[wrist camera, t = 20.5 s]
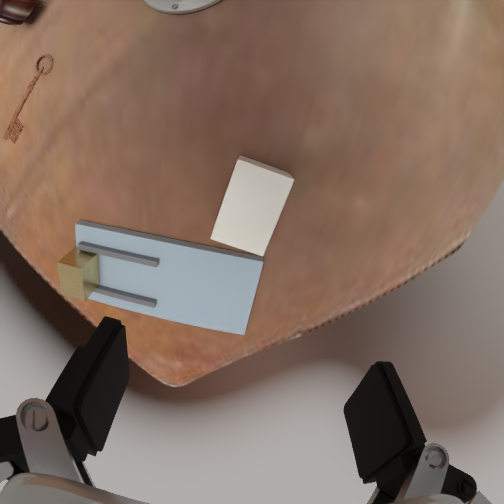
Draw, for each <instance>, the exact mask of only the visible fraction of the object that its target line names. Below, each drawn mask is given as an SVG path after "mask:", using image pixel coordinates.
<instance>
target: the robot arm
mask: <svg viewBox="0 0 504 504" xmlns="http://www.w3.org/2000/svg"><path fill="white" fill-rule="evenodd" d="M144 1H145V2H146V4H147V5H149V6H150V7H151V8H153V9H155V10H157V11H159V12H163V13H168V14H185V13H191V12H196V11H199V10H202V9H205V8H208V7H210V6H212V5H214V4H216V3H218V2H219V1H221V0H144ZM176 8H177V9H176ZM129 377H130V371H129V362H128V353H127V342H126V329H125V326H124V325H121V321H120V320H117V319H114V318H110V317H107V316H105V317H104V318H103V320H102V321H101V323H100V324H99V326H98V327H97V329H96V330H95V332H94V333H93V335H92V336H91V338H90V340H89V341H88V343H87V344H86V346H84V345H80V346H78V348H77V349H76V350H75V352H74V354H73V355H72V357H71V358H70V360H69V361H68V363H67V365H66V367H65V368H64V370H63V371H62V373H61V375H60V376H59V378H58V380H57V381H56V383H55V385H54V386H53V388H52V390H51V392H50V394H49V395H48V397H47V399H46V400H45V401H44V400H42V399H38V398H31V399H28V400H25V401H24V402H22V403H21V404H20V406H19V407H18V409H17V413H16V415H13V416H9V417H5V418H0V482H2V481H3V480H5V479H7V480H9V481H8V482H7V483H6V485H5V486H4V488H3V490H2V491H1V493H0V504H149V503H145V502H141V501H137V500H133V499H130V498H126V497H123V496H120V495H116V494H114V493H110V492H108V491H105V490H101V489H98V488H96V487H95V485H94V483H93V481H92V479H91V477H90V475H89V473H88V470H87V468H86V466H85V464H84V462H83V461H85V459H86V457H87V454H91V455H93V456H96V454H97V451H102V450H103V447H104V445H105V442H106V439H107V436H108V433H109V431H110V428H111V425H112V422H113V420H114V417H115V414H116V412H117V409H118V406H119V404H120V401H121V399H122V396H123V394H124V391H125V389H126V386H127V384H128V381H129ZM344 415H345V419H346V423H347V427H348V431H349V435H350V438H351V442H352V447H353V451H354V455H355V460H356V464H357V468H358V473H359V476H360V478H362V479H363V483H364V484H366V483H372V482H375V481H376V483H377V487H376V489H375V491H374V492H373V494H372V496H371V498H370V500H369V501H368V503H367V504H491V502H490V501H488V500H487V498H486V497H484V495H483V494H481V492H480V491H478V492H476V490H477V487H476V482H475V480H474V479H473V477H471V476H470V475H468V474H466V473H464V472H463V471H461V470H459V469H457V468H455V467H453V466H452V465H450V464H449V455H448V453H447V451H446V449H445V448H444V447H442V446H441V445H439V444H437V443H431V444H428V445H427V446H426V447H425V444H424V443H425V442H427V441H426V438H425V436H424V433H423V431H422V428H421V426H420V424H419V421H418V419H417V416H416V414H415V412H414V409H413V407H412V405H411V403H410V400H409V398H408V396H407V394H406V391H405V389H404V387H403V385H402V383H401V381H400V378H399V376H398V375H397V372H396V370H395V368H394V366H393V364H392V363H391V362H382V361H378V362H376V363H375V364H374V365H372V366H371V367H370V369H369V370H368V372H367V373H366V375H365V376H364V378H363V379H362V381H361V382H360V384H359V385H358V387H357V388H356V390H355V391H354V393H353V394H352V396H351V397H350V398H349V399H348V401H347V402H346V404H345V406H344Z"/></svg>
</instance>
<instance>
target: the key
mask: <svg viewBox="0 0 504 504" xmlns="http://www.w3.org/2000/svg"><path fill="white" fill-rule="evenodd" d="M45 56H47V57H48V58H49V59H50V62H51V65H50V68H49V70H48V71H47V72H46V73H42V71H43V67H42V68H41V69H40V70H39V69H38V66H39V62H40V60H41V59H42V58H43V57H45ZM52 67H53V59H52V57H51V56H50V55H43V56H41V57H40V58H39V59H38V61H37V63H36V70H37V74H36V76H35V77H34V78H33V81H32V82H31V84H30V85H29V86H28V89H27V91H26V93H25V94H24V96H23V98H22V100H21V102H20V104H19V106H18V108H17V110H16V112H15V114H14V116H13V118H12V120H11V122H10V125H9V127H8V129H7V131H6V134H5V136H4V139H5V140H7V138H9V139H10V140H11V141H13V143H14V144H15V142H16V140H17V139H18V135H20V134H19V133H21V132H22V130H23V129H22V128H24V126H23V125H22V123H21V122H20V121H19V120H18V119H17V117H18V115H19V113H20V111H21V109H22V107H23V105H24V103H25V101H26V99H27V97H28V96H29V94H30V92H31V90H32V89H33V86H34V85H35V83H36V81H37V80H38V78H39V76H40V75H47V74H48V73H49V72H50V71H51V69H52ZM16 121H17V122H18V123H17V122H16ZM20 124H21V125H20ZM14 125H15V126H14ZM19 126H20V127H19ZM14 127H15V128H16V129H17V130H18V132H19V133H18V132H17V131H16V130H15V128H14ZM18 128H19V129H18ZM12 129H14V131H15V132H16V133H17V134H18V135H17V134H16V133H15V132H14V131H13V130H12ZM11 131H12V132H11ZM10 133H11V135H12V136H11V135H10ZM15 134H16V136H15ZM14 136H15V138H14ZM13 138H14V140H13Z"/></svg>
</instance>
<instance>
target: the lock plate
mask: <svg viewBox="0 0 504 504" xmlns="http://www.w3.org/2000/svg"><path fill="white" fill-rule="evenodd" d="M75 228H76V248H78V249H80V250H84V251H88V252H92V253H96V254H98V262H99V281H100V284H99V285H98V286H97V288H96V289H95V290H94V291H93V292H92V294H91V295H90V296H89V297H88V299H91V300H95V301H98V302H101V303H105V304H108V305H112V306H116V307H119V308H123V309H127V310H130V311H134V312H138V313H142V314H146V315H150V316H154V317H158V318H163V319H167V320H171V321H176V322H180V323H185V324H189V325H194V326H199V327H204V328H209V329H214V330H219V331H225V332H230V333H236V334H241V335H244V334H245V330H246V326H247V323H248V319H249V315H250V311H251V308H252V304H253V300H254V296H255V293H256V289H257V285H258V281H259V278H260V274H261V270H262V266H263V262H264V261H263V257H261V256H256V255H251V254H246V253H241V252H236V251H231V250H226V249H221V248H216V247H211V246H206V245H201V244H196V243H191V242H186V241H181V240H176V239H171V238H166V237H161V236H157V235H152V234H147V233H142V232H137V231H132V230H127V229H122V228H117V227H112V226H107V225H102V224H97V223H92V222H87V221H83V220H80V221H79V222H77V223H76V224H75Z"/></svg>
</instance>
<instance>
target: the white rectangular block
mask: <svg viewBox="0 0 504 504" xmlns="http://www.w3.org/2000/svg"><path fill="white" fill-rule="evenodd" d="M293 182H294V179H293V178H292V176H291V175H290V174H289V173H287V172H285V171H282V170H280V169H277V168H274V167H272V166H269V165H266V164H263V163H261V162H258V161H255V160H252V159H249V158H247V157H244V156H241V155H240V156H239V158H238V160H237V163H236V166H235V169H234V171H233V174H232V177H231V180H230V183H229V185H228V188H227V191H226V194H225V197H224V200H223V203H222V206H221V209H220V211H219V214H218V217H217V220H216V223H215V226H214V229H213V232H212V236H211V239H212V240H215V241H218V242H221V243H224V244H227V245H230V246H233V247H236V248H239V249H242V250H245V251H248V252H251V253H254V254H257V255H260V256H263V255H264V252H265V250H266V248H267V245H268V243H269V240H270V238H271V236H272V233H273V231H274V228H275V226H276V223H277V221H278V219H279V216H280V214H281V211H282V209H283V207H284V204H285V202H286V199H287V197H288V194H289V192H290V189H291V187H292V185H293Z"/></svg>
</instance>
